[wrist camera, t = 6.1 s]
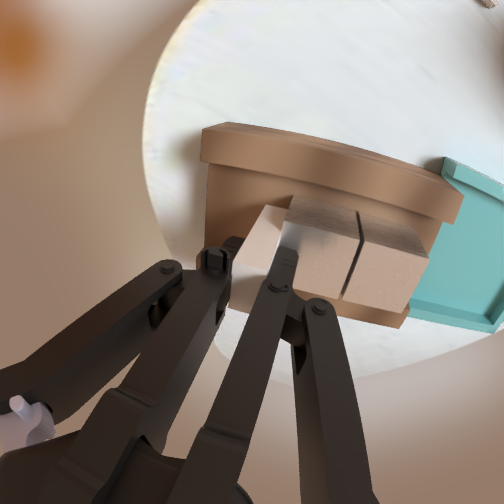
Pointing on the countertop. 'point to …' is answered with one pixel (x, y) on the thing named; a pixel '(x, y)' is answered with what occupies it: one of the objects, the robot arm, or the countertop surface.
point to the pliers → (490, 3)
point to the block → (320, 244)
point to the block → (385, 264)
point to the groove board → (317, 190)
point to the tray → (466, 258)
